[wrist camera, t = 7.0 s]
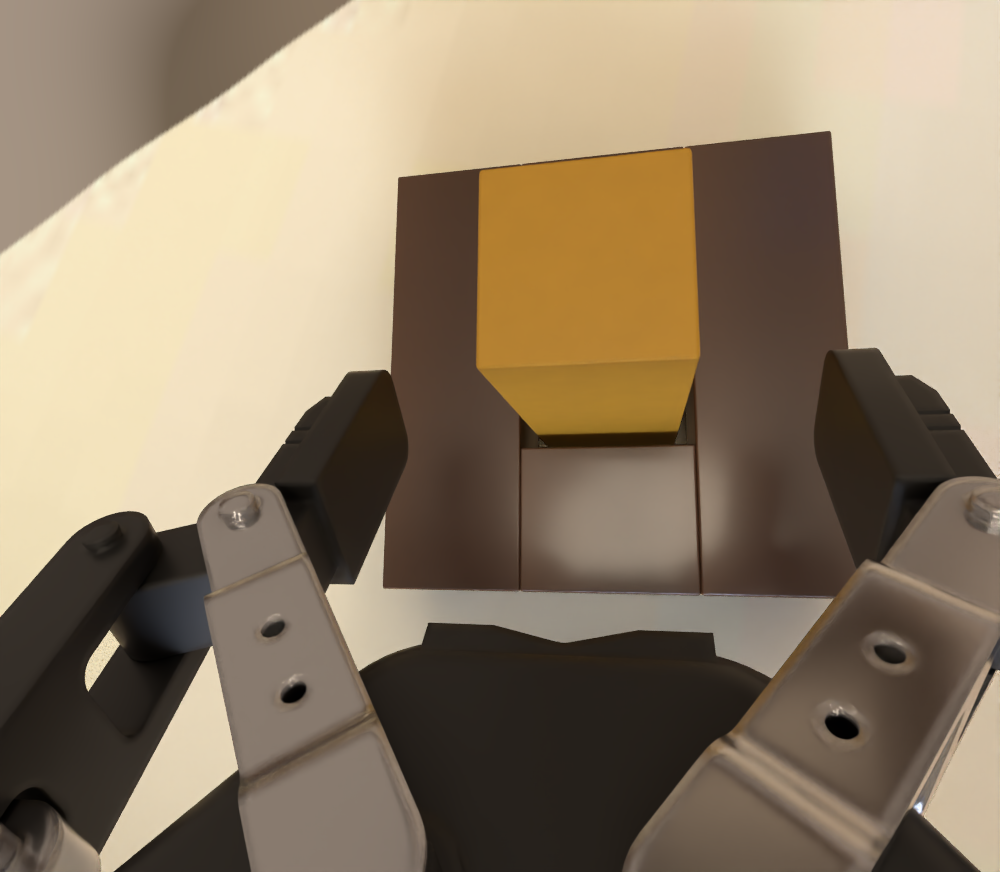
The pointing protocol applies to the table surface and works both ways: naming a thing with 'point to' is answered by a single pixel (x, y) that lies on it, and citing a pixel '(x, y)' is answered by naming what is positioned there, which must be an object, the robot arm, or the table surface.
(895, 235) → the table surface
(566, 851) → the robot arm
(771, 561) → the walnut stand
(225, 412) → the table surface
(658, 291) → the ochre peg
